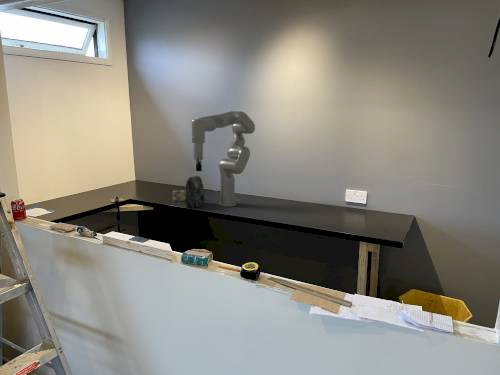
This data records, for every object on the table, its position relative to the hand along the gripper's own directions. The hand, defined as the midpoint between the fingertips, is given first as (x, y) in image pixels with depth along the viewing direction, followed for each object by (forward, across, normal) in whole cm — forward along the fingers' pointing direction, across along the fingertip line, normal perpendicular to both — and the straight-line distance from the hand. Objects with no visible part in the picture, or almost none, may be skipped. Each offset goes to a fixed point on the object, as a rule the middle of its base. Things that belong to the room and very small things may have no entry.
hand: (198, 170), depth 210 cm
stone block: (+27, -21, 0) cm, 34 cm away
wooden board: (+27, -36, -5) cm, 45 cm away
